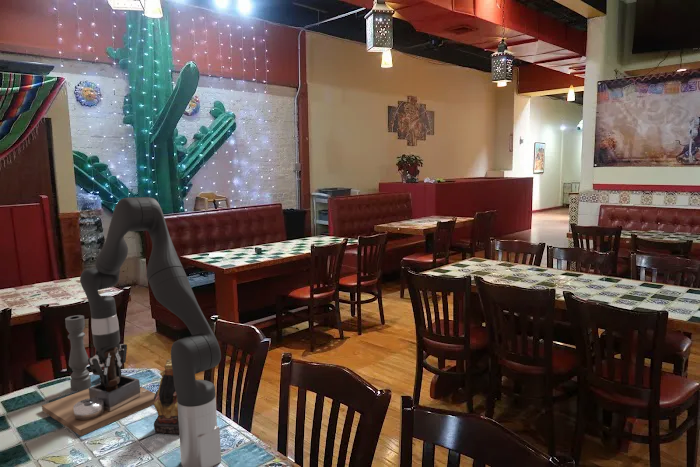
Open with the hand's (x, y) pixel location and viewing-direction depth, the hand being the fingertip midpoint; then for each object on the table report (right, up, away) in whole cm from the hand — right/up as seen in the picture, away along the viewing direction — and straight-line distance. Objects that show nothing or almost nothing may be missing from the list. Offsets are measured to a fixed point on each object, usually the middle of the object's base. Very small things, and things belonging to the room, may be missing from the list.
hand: (111, 381), depth 152 cm
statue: (+25, -10, -13) cm, 30 cm away
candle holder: (-18, -7, +14) cm, 24 cm away
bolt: (0, -4, +1) cm, 5 cm away
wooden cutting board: (-3, -8, +1) cm, 9 cm away
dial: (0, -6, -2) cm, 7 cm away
